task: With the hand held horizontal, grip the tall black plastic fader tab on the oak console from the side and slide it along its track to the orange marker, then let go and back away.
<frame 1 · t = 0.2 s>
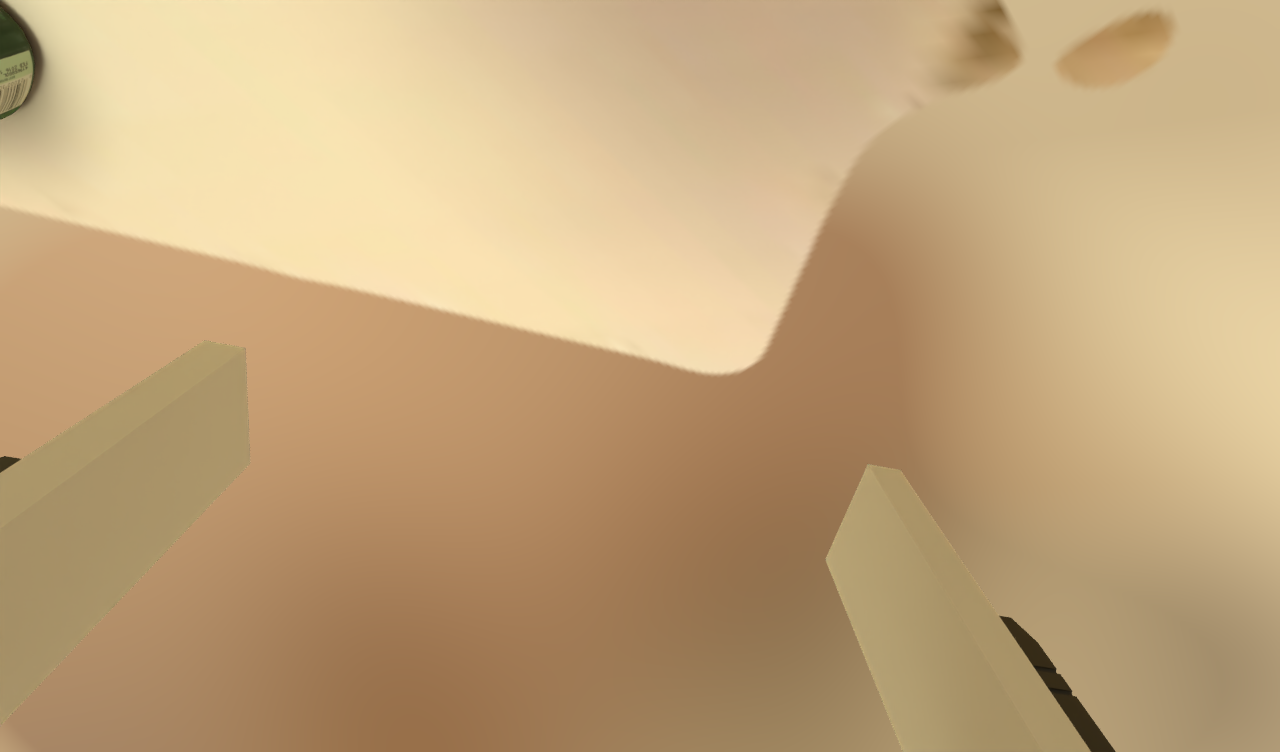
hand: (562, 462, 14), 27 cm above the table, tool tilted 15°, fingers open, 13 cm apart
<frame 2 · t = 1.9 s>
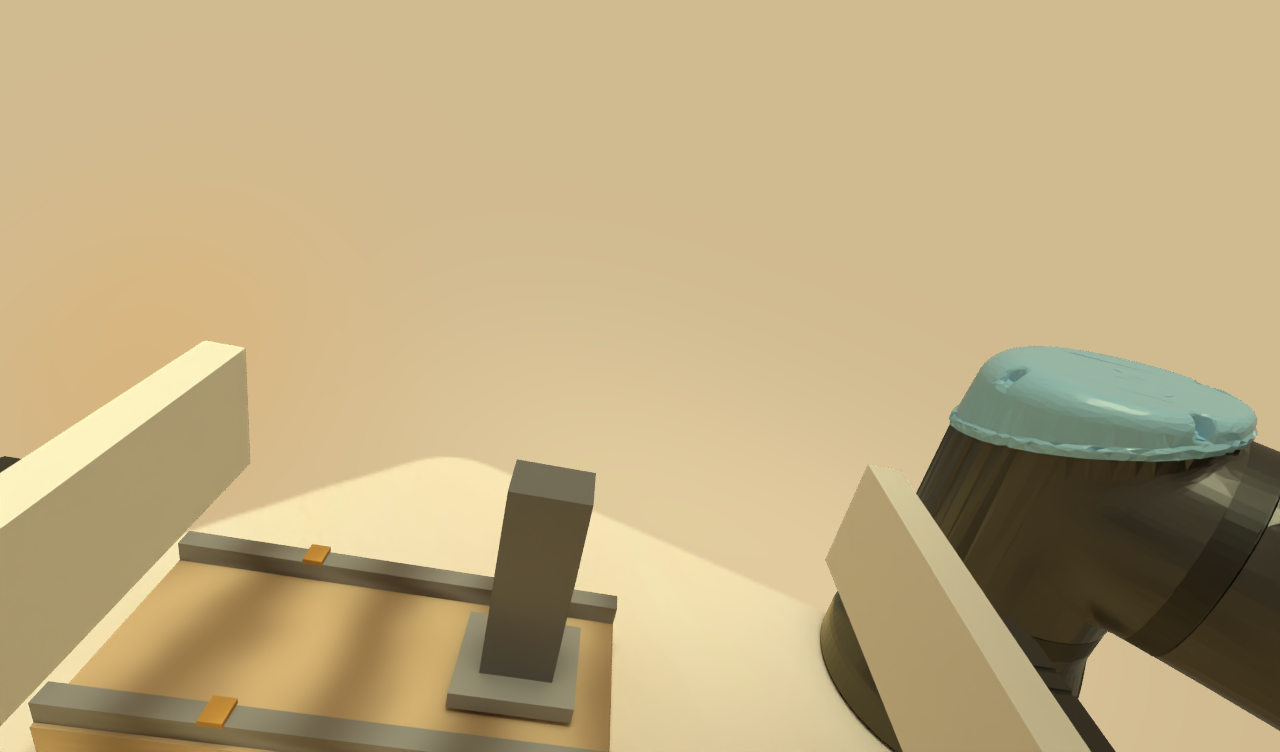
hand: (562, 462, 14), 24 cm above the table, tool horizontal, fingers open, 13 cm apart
fader tab: (533, 584, 31), point 9 cm above the table, slide at -7.0 cm
fader console: (375, 689, 34), on the table
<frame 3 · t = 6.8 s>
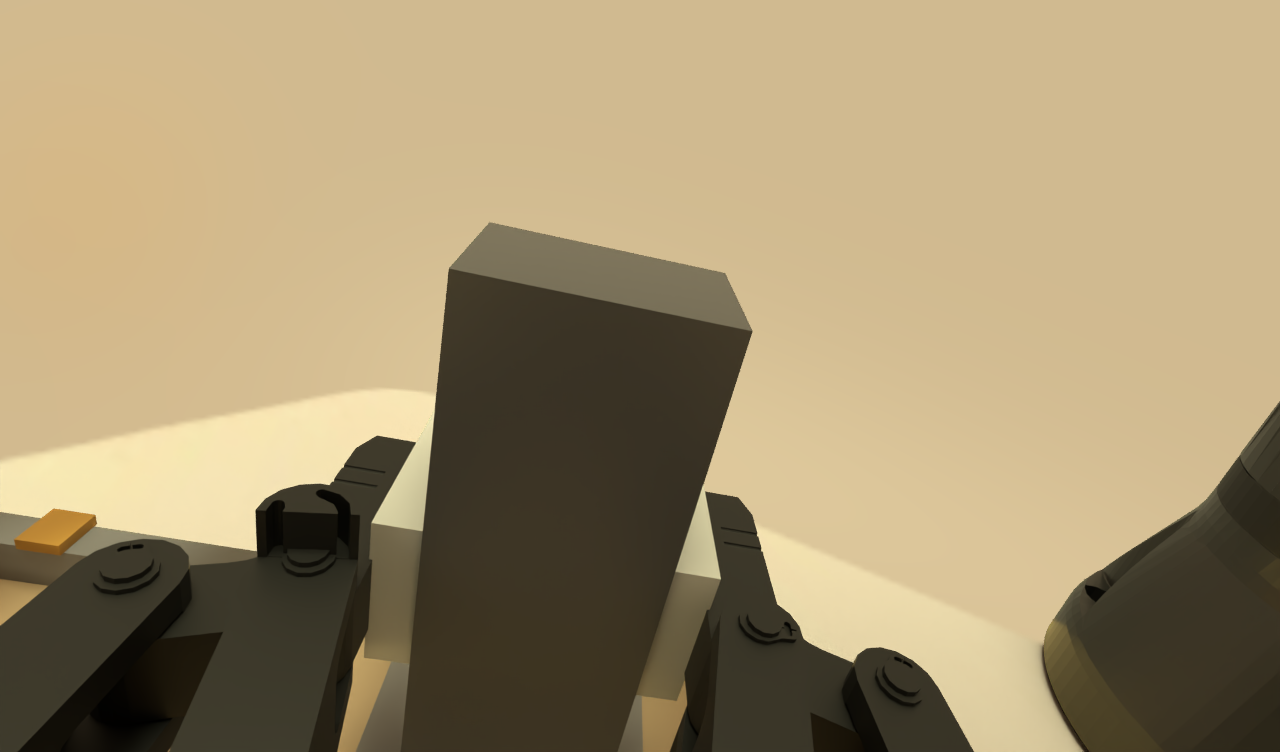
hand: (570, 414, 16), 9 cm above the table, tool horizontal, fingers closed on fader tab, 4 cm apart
fader tab: (538, 601, 11), point 9 cm above the table, slide at -7.0 cm, touching gripper
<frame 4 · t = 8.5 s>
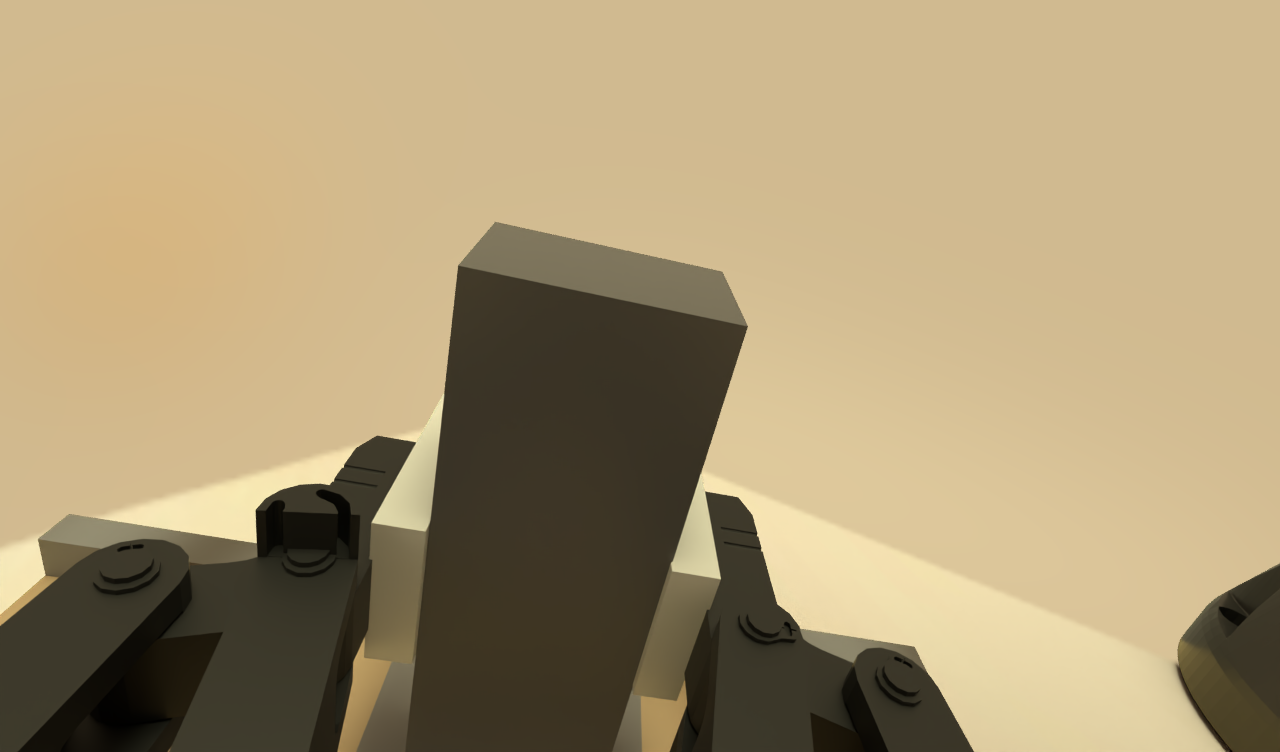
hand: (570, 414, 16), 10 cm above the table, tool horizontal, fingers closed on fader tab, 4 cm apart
fader tab: (541, 590, 11), point 9 cm above the table, slide at -0.3 cm, touching gripper
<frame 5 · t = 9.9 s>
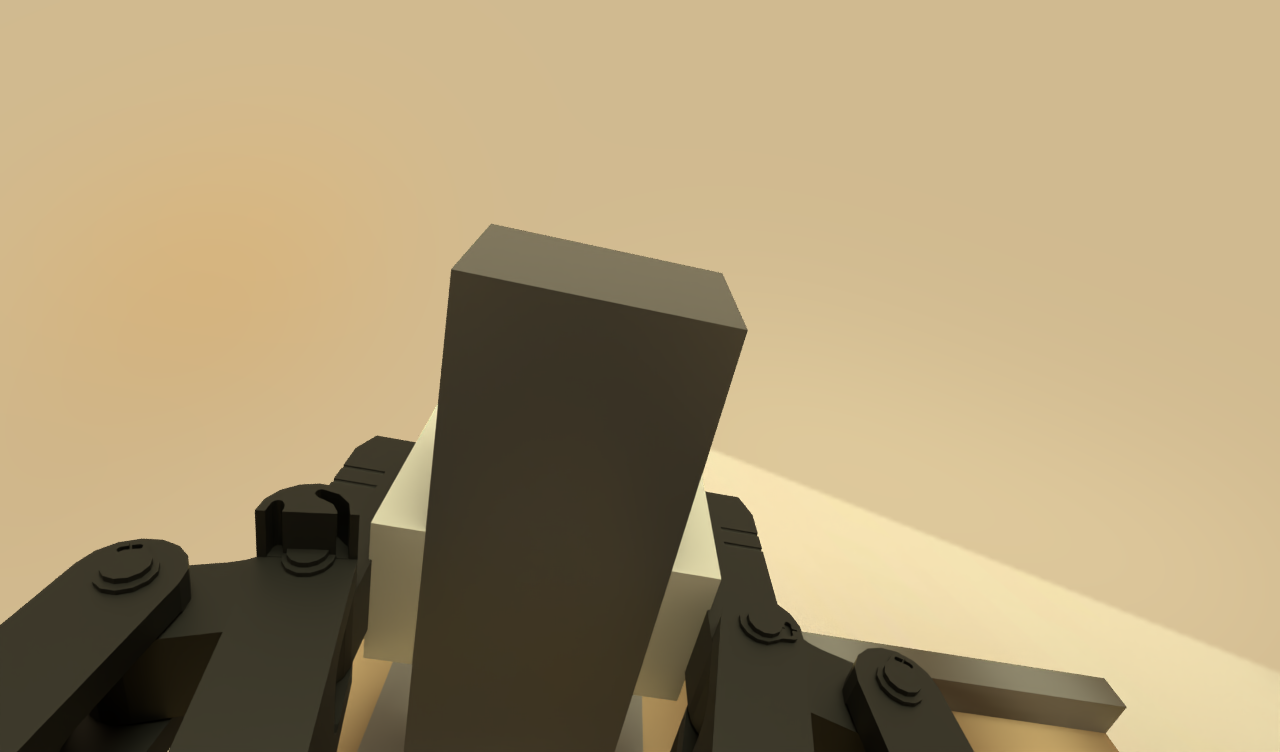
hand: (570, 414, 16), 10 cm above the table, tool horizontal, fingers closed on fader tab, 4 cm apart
fader tab: (539, 596, 11), point 9 cm above the table, slide at 5.9 cm, touching gripper
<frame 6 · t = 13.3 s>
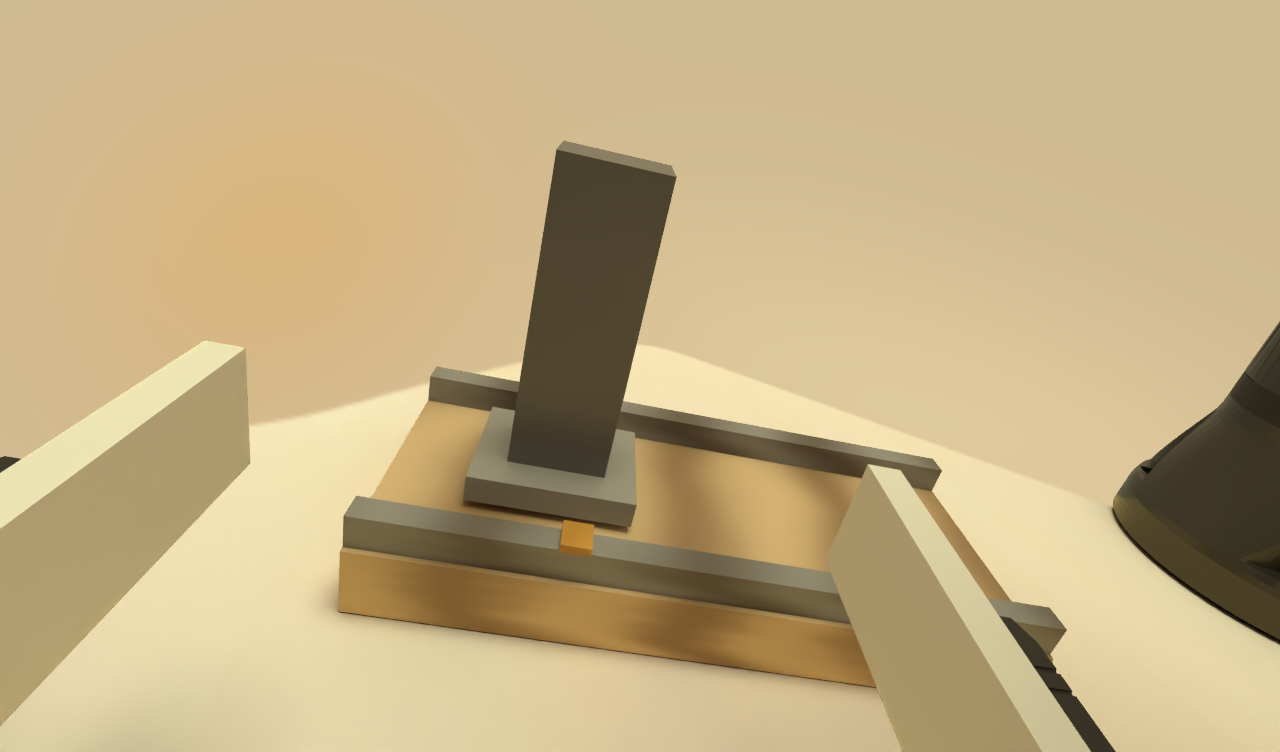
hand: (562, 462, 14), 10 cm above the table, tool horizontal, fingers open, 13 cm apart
fader tab: (582, 333, 23), point 9 cm above the table, slide at 6.0 cm
fader console: (686, 552, 27), on the table
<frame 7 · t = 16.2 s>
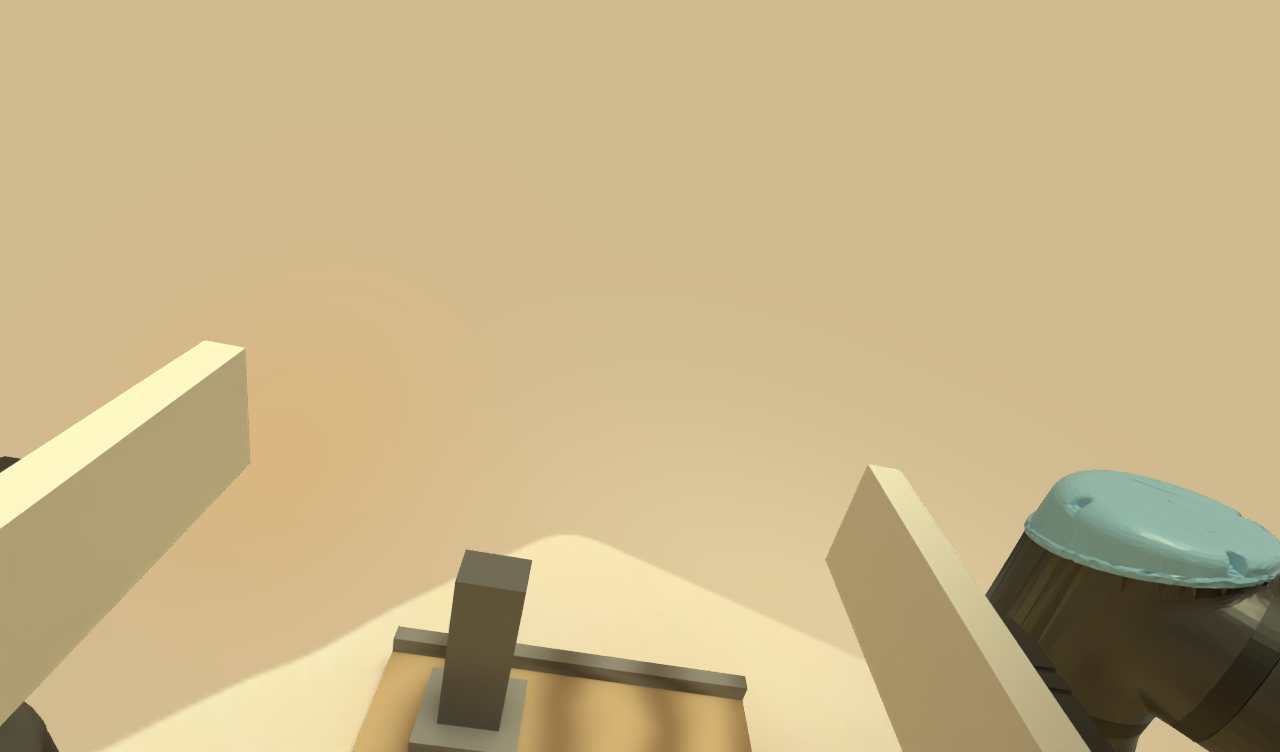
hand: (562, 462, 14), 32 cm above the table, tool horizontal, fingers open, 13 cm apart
fader tab: (482, 650, 37), point 9 cm above the table, slide at 6.0 cm
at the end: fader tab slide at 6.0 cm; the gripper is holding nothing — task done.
